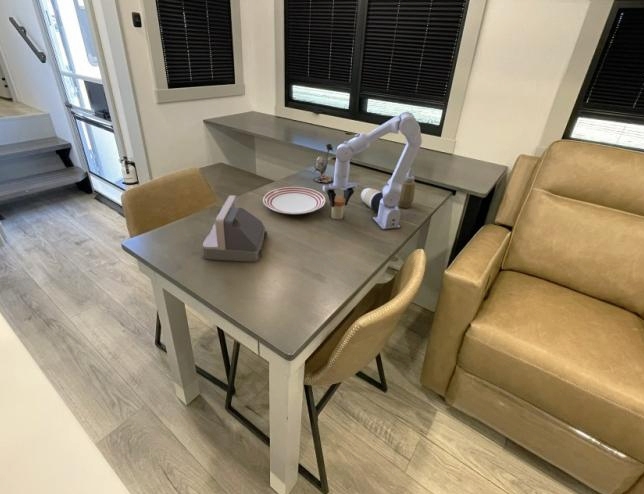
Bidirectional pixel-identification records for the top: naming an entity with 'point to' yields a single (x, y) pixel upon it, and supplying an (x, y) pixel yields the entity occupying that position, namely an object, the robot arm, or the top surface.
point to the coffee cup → (372, 198)
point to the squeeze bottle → (407, 191)
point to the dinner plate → (294, 200)
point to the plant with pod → (322, 166)
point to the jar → (337, 212)
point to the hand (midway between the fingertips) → (338, 205)
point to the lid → (339, 201)
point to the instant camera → (234, 234)
